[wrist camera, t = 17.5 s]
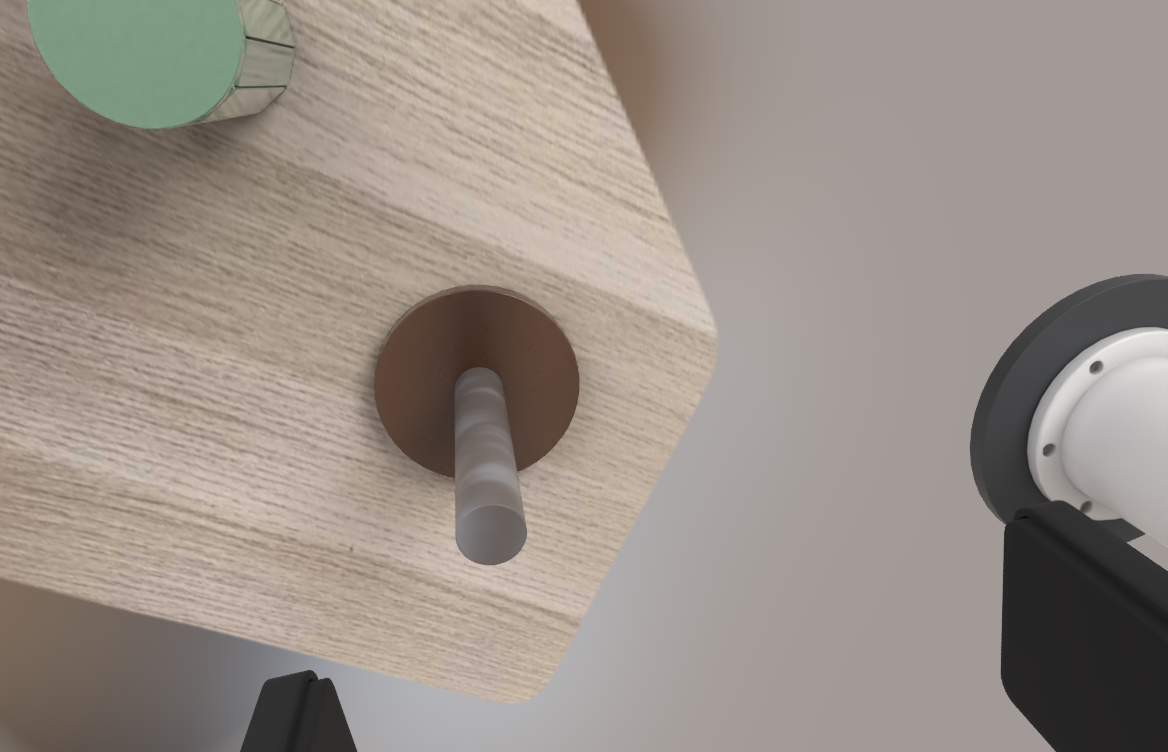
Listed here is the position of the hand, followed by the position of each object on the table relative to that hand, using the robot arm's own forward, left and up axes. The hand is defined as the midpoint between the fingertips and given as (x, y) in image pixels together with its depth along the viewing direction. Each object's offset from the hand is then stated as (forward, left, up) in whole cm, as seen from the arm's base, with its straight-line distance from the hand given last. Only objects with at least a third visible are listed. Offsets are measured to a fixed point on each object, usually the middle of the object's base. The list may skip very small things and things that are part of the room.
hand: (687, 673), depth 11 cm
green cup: (+12, -12, -33) cm, 37 cm away
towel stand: (+4, +8, -33) cm, 34 cm away
